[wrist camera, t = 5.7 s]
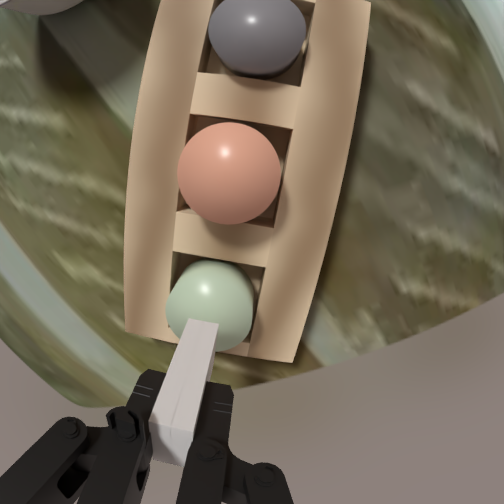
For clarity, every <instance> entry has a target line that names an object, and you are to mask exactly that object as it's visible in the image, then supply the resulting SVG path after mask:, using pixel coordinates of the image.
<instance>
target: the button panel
mask: <svg viewBox="0 0 504 504" xmlns="http://www.w3.org/2000/svg"><path fill="white" fill-rule="evenodd" d="M223 1H224V0H161V2H160V6H159V9H158V13H157V16H156V20H155V24H154V27H153V31H152V35H151V39H150V43H149V48H148V52H147V56H146V61H145V66H144V70H143V75H142V80H141V86H140V91H139V97H138V103H137V109H136V115H135V122H134V129H133V136H132V144H131V152H130V161H129V171H128V182H127V195H126V211H125V232H124V308H125V329H126V332H130V333H134V334H138V335H142V336H146V337H150V338H154V339H159V340H163V341H167V342H172V343H177V344H178V343H179V341H180V339H179V338H178V337H177V336H176V335H175V334H174V333H173V331H172V330H171V328H170V326H169V324H168V322H167V319H166V312H165V308H166V302H167V299H168V297H169V295H170V293H171V291H172V290H173V288H174V286H175V284H176V283H177V281H178V279H179V278H180V276H181V274H182V273H183V271H184V270H185V269H186V268H187V266H189V265H190V264H191V263H193V262H194V261H197V260H199V259H202V258H207V257H209V258H215V259H221V260H226V261H232V262H234V263H236V264H237V265H238V266H240V267H241V268H242V269H243V270H244V271H245V272H246V273H247V275H248V276H249V278H250V280H251V282H252V285H253V290H254V300H253V314H252V324H251V328H250V331H249V333H248V335H247V336H246V338H245V339H244V340H243V341H242V342H241V343H239V344H238V345H237V346H235V347H233V348H231V349H228V350H225V351H219V352H222V353H228V354H234V355H240V356H246V357H253V358H259V359H266V360H274V361H281V362H289V363H293V360H294V356H295V353H296V350H297V347H298V344H299V341H300V338H301V335H302V331H303V328H304V325H305V322H306V318H307V315H308V312H309V308H310V305H311V301H312V298H313V295H314V291H315V288H316V284H317V280H318V277H319V273H320V270H321V266H322V262H323V258H324V255H325V251H326V247H327V243H328V239H329V235H330V231H331V227H332V223H333V219H334V215H335V211H336V207H337V202H338V198H339V194H340V189H341V185H342V180H343V176H344V171H345V166H346V161H347V157H348V152H349V147H350V142H351V136H352V131H353V126H354V120H355V115H356V109H357V103H358V97H359V91H360V85H361V79H362V72H363V65H364V58H365V51H366V43H367V35H368V26H369V17H370V7H371V3H370V2H367V1H364V0H290V1H292V2H293V3H294V4H295V5H296V6H297V7H298V9H299V10H300V11H301V13H302V15H303V17H304V20H305V24H306V36H305V40H304V42H303V45H302V47H301V50H300V52H299V55H298V57H297V59H296V61H295V63H294V64H293V65H292V67H291V68H290V69H289V70H287V71H286V72H285V73H283V74H282V75H280V76H278V77H275V78H272V79H268V80H259V79H252V78H245V77H239V76H237V75H235V74H234V73H232V72H231V71H229V70H228V69H227V68H226V67H225V66H224V65H223V63H222V62H221V60H220V58H219V57H218V55H217V53H216V51H215V50H214V48H213V46H212V44H211V42H210V39H209V33H208V27H209V21H210V18H211V16H212V14H213V12H214V11H215V9H216V8H217V7H218V6H219V5H220V4H221V3H222V2H223ZM226 122H232V123H239V124H244V125H247V126H249V127H251V128H253V129H255V130H257V131H258V132H260V133H261V134H262V135H264V136H265V137H266V138H267V139H268V141H269V142H270V143H271V144H272V146H273V148H274V149H275V151H276V153H277V156H278V159H279V162H280V168H281V179H280V185H279V189H278V191H277V194H276V196H275V198H274V200H273V201H272V203H271V204H270V205H269V207H268V208H267V209H266V210H265V211H264V212H262V213H261V214H260V215H259V216H257V217H255V218H254V219H252V220H249V221H247V222H243V223H240V224H230V225H226V224H219V223H215V222H212V221H209V220H207V219H205V218H203V217H201V216H200V215H198V214H197V213H196V212H195V211H193V210H192V209H191V208H190V206H189V205H188V204H187V203H186V201H185V199H184V198H183V196H182V194H181V191H180V188H179V185H178V178H177V168H178V162H179V159H180V156H181V153H182V151H183V149H184V147H185V146H186V144H187V143H188V142H189V140H190V139H191V138H192V137H193V136H194V135H196V134H197V133H198V132H199V131H201V130H203V129H204V128H206V127H209V126H211V125H214V124H218V123H226Z"/></svg>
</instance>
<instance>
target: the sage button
mask: <svg viewBox="0 0 504 504" xmlns="http://www.w3.org/2000/svg"><path fill="white" fill-rule="evenodd" d="M253 300H254V290H253V285H252V282H251V280H250V278H249V276H248V275H247V273H246V272H245V271H244V270H243V269H242V268H241V267H240V266H238V265H237V264H236V263H234V262H232V261H226V260H221V259H215V258H209V257H207V258H202V259H199V260H197V261H194V262H193V263H191V264H190V265H189V266H187V268H186V269H185V270H184V271H183V273H182V274H181V276H180V278H179V279H178V281H177V283H176V284H175V286H174V288H173V290H172V291H171V293H170V295H169V297H168V299H167V302H166V308H165V312H166V319H167V322H168V324H169V326H170V328H171V330H172V331H173V333H174V334H175V335H176V336H177V337H178V338H179V339H180V338H181V336H182V333H183V331H184V328H185V326H186V323H187V321H188V319H189V318H191V319H196V320H201V321H206V322H211V323H217V324H219V327H218V334H217V341H216V348H215V352H219V351H225V350H228V349H231V348H233V347H235V346H237V345H238V344H239V343H241V342H242V341H243V340H244V339H245V338H246V336H247V335H248V333H249V331H250V328H251V324H252V314H253Z"/></svg>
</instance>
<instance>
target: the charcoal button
mask: <svg viewBox="0 0 504 504" xmlns="http://www.w3.org/2000/svg"><path fill="white" fill-rule="evenodd" d="M208 33H209V39H210V42H211V44H212V46H213V48H214V50H215V51H216V53H217V55H218V57H219V58H220V60H221V62H222V63H223V65H224V66H225V67H226V68H227V69H228V70H229V71H231V72H232V73H234V74H235V75H237V76H239V77H245V78H252V79H259V80H268V79H272V78H275V77H278V76H280V75H282V74H283V73H285V72H286V71H287V70H289V69H290V68H291V67H292V65H293V64H294V63H295V61H296V59H297V57H298V55H299V52H300V50H301V47H302V45H303V42H304V40H305V36H306V24H305V20H304V17H303V15H302V13H301V11H300V10H299V9H298V7H297V6H296V5H295V4H294V3H293V2H292V1H290V0H224V1H223V2H222V3H221V4H220V5H219V6H218V7H217V8H216V9H215V11H214V12H213V14H212V16H211V18H210V21H209V27H208Z"/></svg>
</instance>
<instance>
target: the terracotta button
mask: <svg viewBox="0 0 504 504" xmlns="http://www.w3.org/2000/svg"><path fill="white" fill-rule="evenodd" d="M177 178H178V185H179V188H180V191H181V194H182V196H183V198H184V199H185V201H186V203H187V204H188V205H189V206H190V208H191V209H192V210H193V211H195V212H196V213H197V214H198V215H200V216H201V217H203V218H205V219H207V220H209V221H212V222H215V223H219V224H226V225H230V224H240V223H243V222H247V221H249V220H252V219H254V218H255V217H257V216H259V215H260V214H261V213H262V212H264V211H265V210H266V209H267V208H268V207H269V205H270V204H271V203H272V201H273V200H274V198H275V196H276V194H277V191H278V189H279V185H280V179H281V168H280V162H279V159H278V156H277V153H276V151H275V149H274V148H273V146H272V144H271V143H270V142H269V141H268V139H267V138H266V137H265V136H264V135H262V134H261V133H260V132H258V131H257V130H255V129H253V128H251V127H249V126H247V125H244V124H239V123H232V122H226V123H218V124H214V125H211V126H209V127H206V128H204V129H203V130H201V131H199V132H198V133H197V134H196V135H194V136H193V137H192V138H191V139H190V140H189V142H188V143H187V144H186V146H185V147H184V149H183V151H182V153H181V156H180V159H179V162H178V168H177Z"/></svg>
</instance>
